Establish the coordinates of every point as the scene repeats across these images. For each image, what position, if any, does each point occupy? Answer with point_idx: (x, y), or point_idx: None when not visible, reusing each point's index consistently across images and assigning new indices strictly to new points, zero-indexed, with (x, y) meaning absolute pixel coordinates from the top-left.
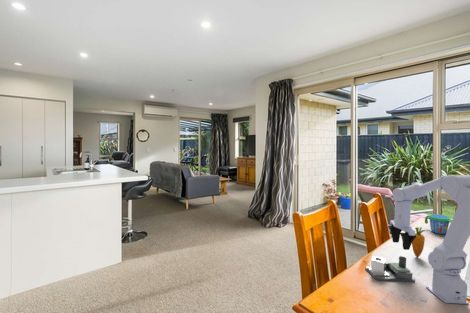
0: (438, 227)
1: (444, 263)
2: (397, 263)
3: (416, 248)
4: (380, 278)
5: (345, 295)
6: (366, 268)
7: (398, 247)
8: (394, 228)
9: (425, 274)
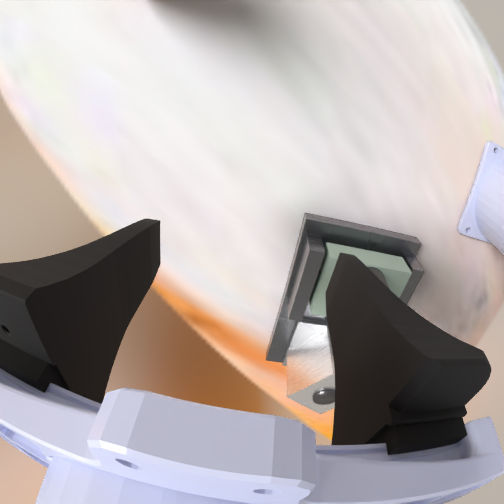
0: None
1: None
2: (328, 280)
3: None
4: None
5: None
6: (277, 359)
7: (29, 33)
8: (85, 384)
9: (371, 106)
